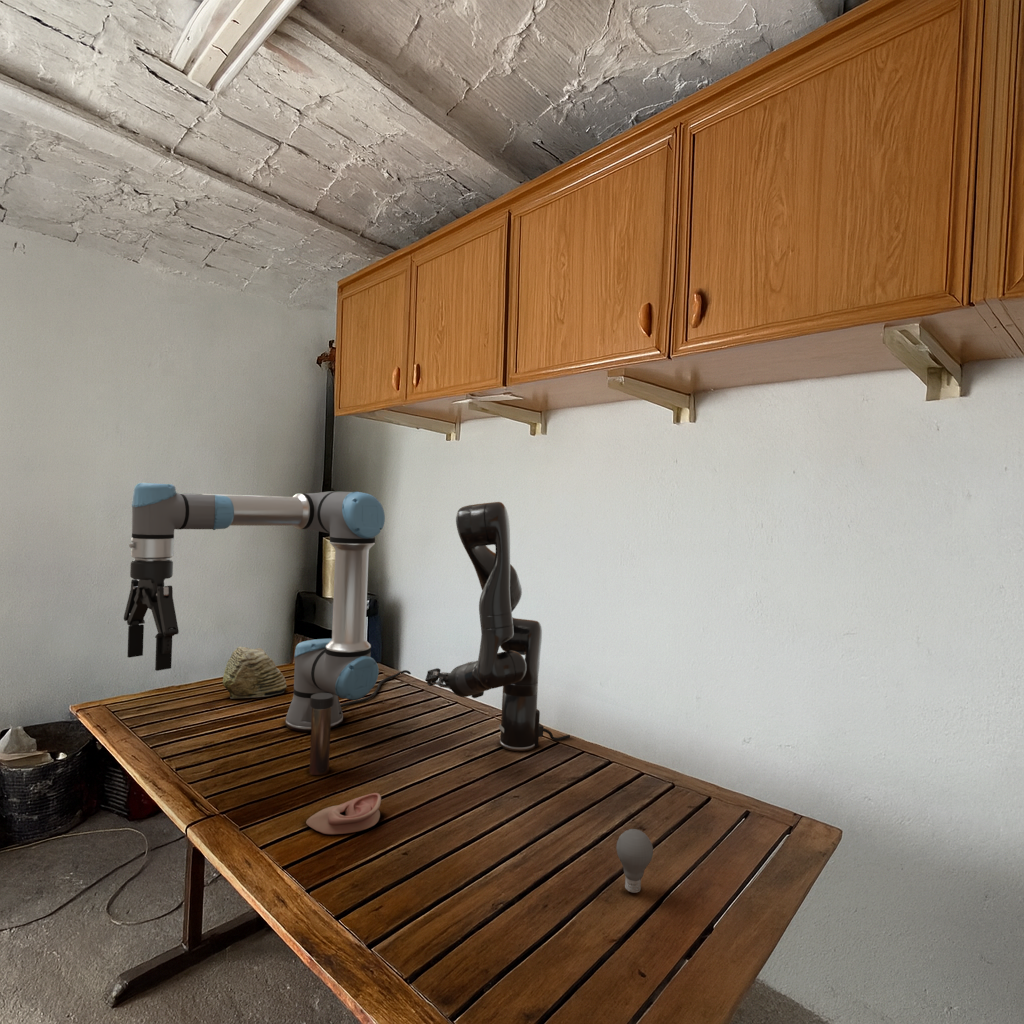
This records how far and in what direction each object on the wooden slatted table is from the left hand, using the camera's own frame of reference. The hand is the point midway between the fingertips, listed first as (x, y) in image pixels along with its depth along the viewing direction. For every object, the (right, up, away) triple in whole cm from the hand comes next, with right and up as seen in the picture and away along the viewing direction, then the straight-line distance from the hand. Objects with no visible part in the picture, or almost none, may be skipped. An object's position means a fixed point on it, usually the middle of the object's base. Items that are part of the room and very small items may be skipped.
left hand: (148, 662), depth 129 cm
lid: (+30, -12, +16) cm, 37 cm away
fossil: (-6, -27, +69) cm, 74 cm away
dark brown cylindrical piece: (+30, -29, +17) cm, 45 cm away
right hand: (+57, -14, +34) cm, 68 cm away
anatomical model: (+41, -30, -5) cm, 51 cm away
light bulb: (+94, -33, -24) cm, 103 cm away
